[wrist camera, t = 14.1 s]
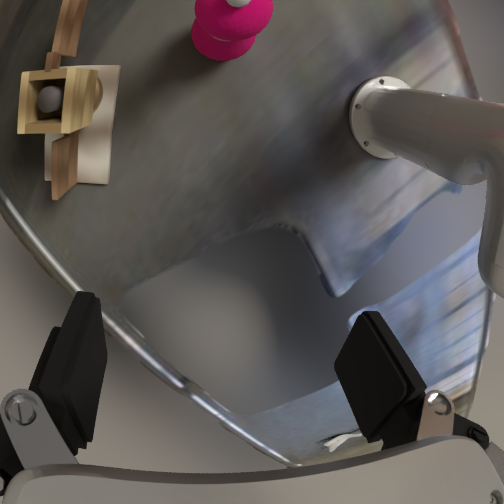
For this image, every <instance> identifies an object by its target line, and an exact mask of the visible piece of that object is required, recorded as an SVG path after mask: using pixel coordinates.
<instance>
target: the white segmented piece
mask: <svg viewBox="0 0 504 504" xmlns="http://www.w3.org/2000/svg"><path fill="white" fill-rule="evenodd" d="M357 436H362V433H357V434H343V435H339V436H337V437H335V438H333V439H331V440H329V441H327V442H326V443H324V444H323V445H324V446H327V447H328V448H329V452H332V451H333V450H334V449H336V448H337V447H338V446H339V445H340V444H341V443H343V442H344V441H345V440H346V439H348V438H350V437H357Z"/></svg>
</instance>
